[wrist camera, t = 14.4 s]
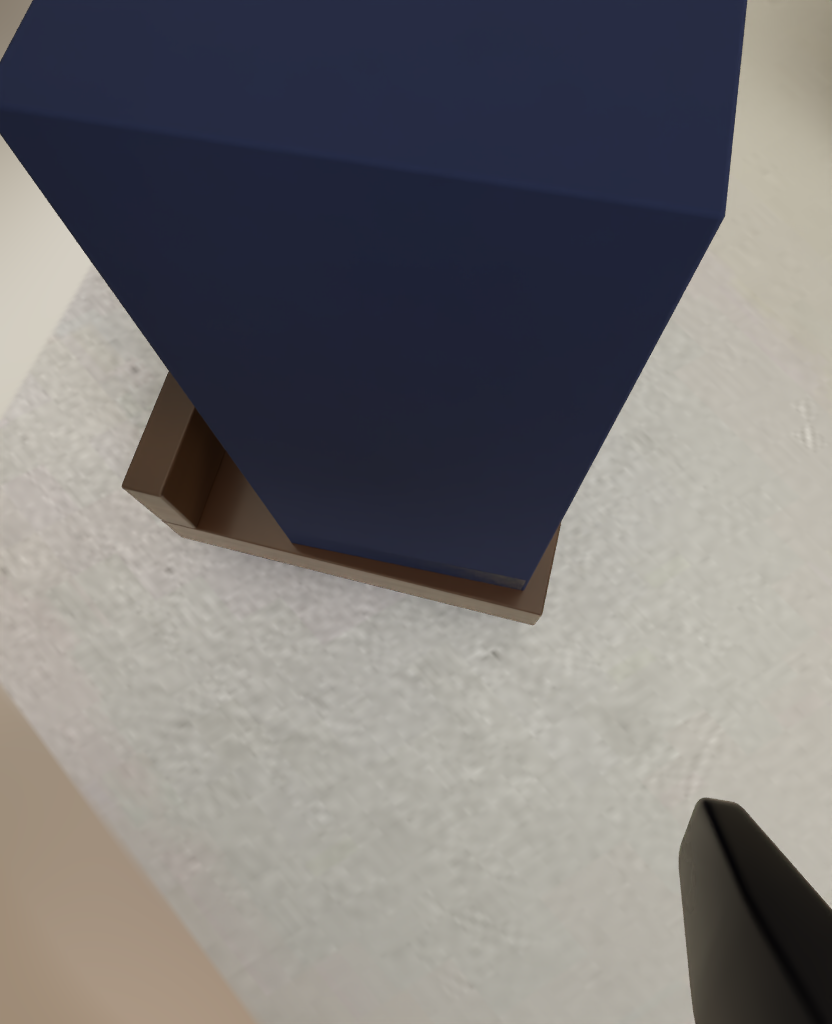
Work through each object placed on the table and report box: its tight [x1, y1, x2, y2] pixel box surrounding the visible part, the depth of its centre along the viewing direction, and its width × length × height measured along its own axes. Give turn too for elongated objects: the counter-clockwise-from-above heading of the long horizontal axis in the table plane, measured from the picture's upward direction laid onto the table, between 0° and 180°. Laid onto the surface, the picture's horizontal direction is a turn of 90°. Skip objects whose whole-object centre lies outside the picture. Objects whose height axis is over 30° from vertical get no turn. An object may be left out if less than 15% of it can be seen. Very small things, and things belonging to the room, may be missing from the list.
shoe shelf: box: [122, 371, 561, 625], centre depth 20 cm, size 16×10×6 cm, turn 165°
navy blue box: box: [0, 0, 747, 590], centre depth 14 cm, size 13×6×13 cm, turn 168°
